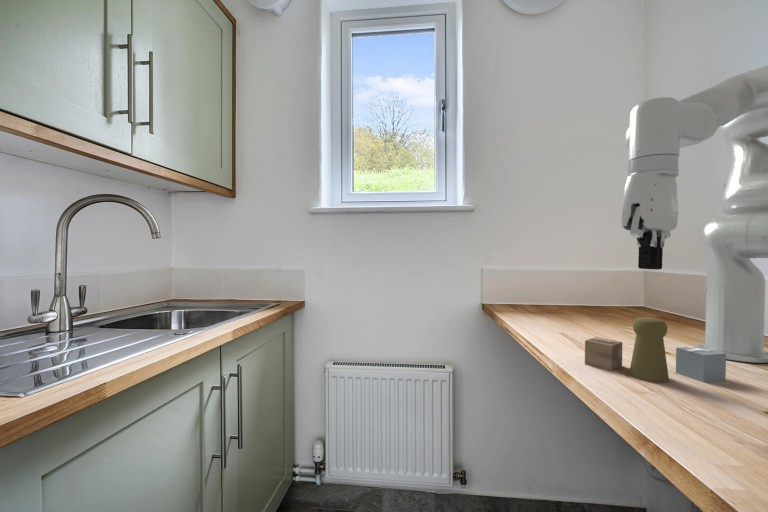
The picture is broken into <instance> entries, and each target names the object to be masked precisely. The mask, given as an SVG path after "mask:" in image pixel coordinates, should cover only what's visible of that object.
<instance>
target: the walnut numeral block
mask: <svg viewBox="0 0 768 512" xmlns="http://www.w3.org/2000/svg"><path fill="white" fill-rule="evenodd" d="M584 365H587V366H590V367H595V368H598V369H603V370H606V371H610V372H612V371H614V370H616V369H619V368H620V367H623V341H618V340H612V339H610V338H609V339H608V338H602V337H597V336H595V337H593V338H590V339H585V340H584Z"/></svg>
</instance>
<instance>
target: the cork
mask: <svg viewBox="0 0 768 512" xmlns="http://www.w3.org/2000/svg"><path fill="white" fill-rule="evenodd" d="M632 329H633V332H634V333H635V339H634V345H633V350H632V351H633V352H632V355H631V357H632V358H631V361H630V366H629V367H630V368H629V371H628V372H629V376H631V377H633V378H635V379H638V380H641V381H645V382H649V383H657V384H661V383H662V384H663V383H668V382H669V381H670V377H669V370H668V362H667V356H666V355H667V354H666V348H665V341H664V340H665V339H664V337H665V336H666V335H667V332H668V325H667V323H666V321H664V320H662V319H660V318H656V317H650V316H649V317H647V316H644V317H643V316H642V317H637V318H634V320H633V323H632Z"/></svg>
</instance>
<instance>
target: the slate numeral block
mask: <svg viewBox="0 0 768 512" xmlns="http://www.w3.org/2000/svg"><path fill="white" fill-rule="evenodd" d="M675 351H676V352H675V374H678V375H680V376H684V377H687V378H690V379H692V380H696V381H698V382H701V383H713V381H714V382H725V381H726V379H727V378H726V376H727V375H726V374H727V372H726V369H727V366H726V365H727V359H726V354H725V353H721V352H718V351H714V350H710V349H706V348H702V347H698V346H696V345H695V346H681V347H676V349H675Z"/></svg>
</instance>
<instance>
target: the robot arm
mask: <svg viewBox="0 0 768 512" xmlns="http://www.w3.org/2000/svg"><path fill="white" fill-rule="evenodd" d="M718 129H719V130H720V134H721V138H722V140H723V143H724V147H725V148H726V150H727V152H728V154H729V156H730V159H731V166H730V170H729V174H728V177H727V179H726V182H725V183H726V184H725V186H724V190H723V194H722V199H721V205H722V208H723V210H724V212H726V213H727V214H729V215H724V216H719V217H715V218H713V219H711V220H710V221H708V222H707V223H706V224H705V225H704V226H703V228H702V233H701V234H702V235H701V237H702V239H701V240H702V245H703V250H704V255H705V262H706V264H705V265H706V292H705V293H706V294H705V295H706V296H705V329H704V330H705V332H704V333H705V336H704V337H705V339H704V340H705V341H704V342H700V343H697V344H696V345H695V347H696V346H698V347H702V348H706V349H710V350H714V351H718V352H721V353H725V354H726V360H729V361H734V362H735V361H736V362H744V363H755V364H756V363H757V364H767V363H768V352H767V351H765V350H764V349H765V348H764V345H765V344H764V343H765V308H766V307H765V306H766V278H765V276H764V273H763V272H762V271H761V270H760V268H759V267H757V265H756V264H755V263H754V262H752V260H751V259H763V258H764V259H768V143H765V142H762V141H761V139H762V138H767V137H768V64H767V65H763V66H760V67H757V68H754V69H751V70H747V71H745V72H742V73H739V74H736V75H732V76H730V77H728V78H725V79H724V80H722V81H720V82H718V83H716V84H714V85H711V86H710V87H707V88H705V89H704V90H702V91H699V92H696V93H693V94H692V95H689V96H686V97H684V98H683V99H681V100H678V99H676V98H675V97H670V96H665V97H663V96H661V97H655V98H651V99H647V100H644V101H642V102H639V103H637V104H636V105H634V106H633V108H632V109H631V111H630V114H629V127H628V129H627V130H626V135H625V144H626V145H625V146H626V147H627V148H628V171H627V172H628V174H627V175H628V176H627V178H626V181H625V182H626V183H625V185H624V191H623V198H622V206H621V207H622V208H621V223H620V224H621V228H622V229H623V230H625V231H629V232H630V236H632V237H634V238H635V239H636V245H637V248H638V265H637V267H638V269H640V270H641V269H643V270H661V269H663V254H664V253H663V250H664V247H665V242H666V239H669V238H670V237H671V231H674V230H675V229H676V228H677V225H678V220H679V219H678V218H679V200H678V199H679V198H678V184H677V177H679V174H680V149H681V148H682V149H683V148H687V147H692V146H696V145H699V144H703V143H705V142H706V141H709V139H711V138H712V137H713V136H714V135H715V134H716V132H717V131H718ZM760 138H761V139H760Z"/></svg>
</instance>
